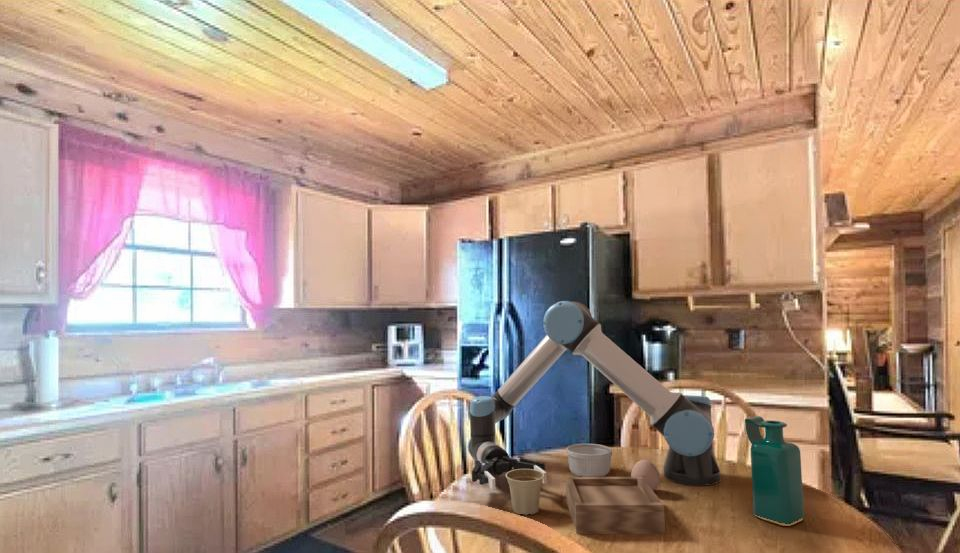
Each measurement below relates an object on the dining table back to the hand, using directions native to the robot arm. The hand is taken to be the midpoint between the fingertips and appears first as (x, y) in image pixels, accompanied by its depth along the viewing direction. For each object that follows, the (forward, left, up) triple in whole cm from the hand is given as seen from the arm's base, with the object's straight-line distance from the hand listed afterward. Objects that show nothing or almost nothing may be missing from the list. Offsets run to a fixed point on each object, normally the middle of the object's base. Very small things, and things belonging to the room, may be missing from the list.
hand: (519, 481), depth 131 cm
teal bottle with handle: (-58, +6, -7) cm, 59 cm away
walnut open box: (-21, +5, -7) cm, 23 cm away
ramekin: (-21, -28, -7) cm, 35 cm away
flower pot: (-1, +2, -7) cm, 7 cm away
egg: (-33, -11, -7) cm, 35 cm away
